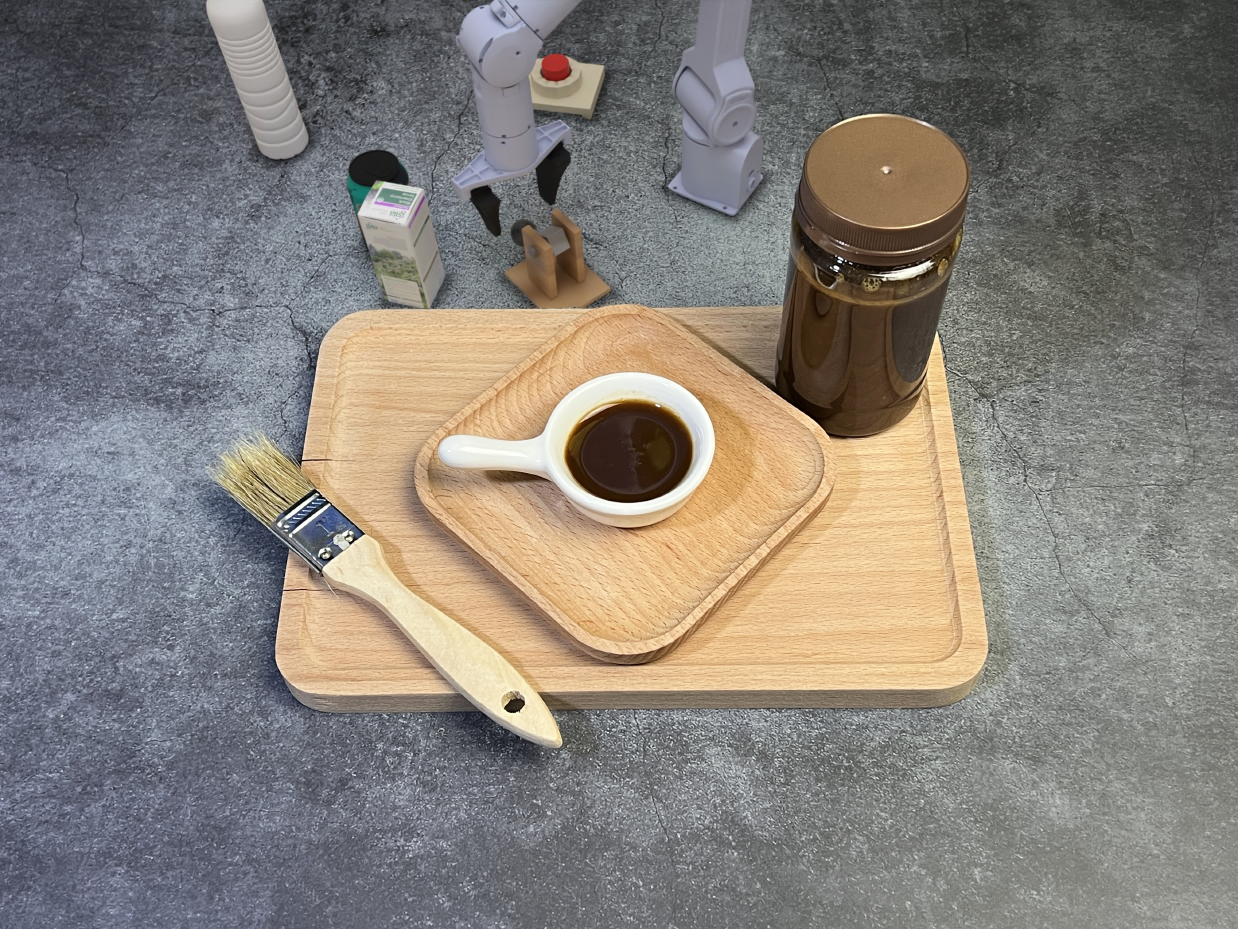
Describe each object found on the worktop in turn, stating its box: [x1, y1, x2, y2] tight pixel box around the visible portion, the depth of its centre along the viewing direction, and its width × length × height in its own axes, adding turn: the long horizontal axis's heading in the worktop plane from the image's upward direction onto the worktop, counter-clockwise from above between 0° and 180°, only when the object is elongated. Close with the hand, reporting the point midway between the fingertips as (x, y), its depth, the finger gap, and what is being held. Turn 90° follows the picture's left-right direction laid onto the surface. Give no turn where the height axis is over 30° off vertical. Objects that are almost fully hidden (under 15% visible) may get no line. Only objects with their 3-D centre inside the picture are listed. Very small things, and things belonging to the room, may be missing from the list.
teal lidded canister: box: [346, 149, 412, 254], centre depth 128 cm, size 7×7×12 cm
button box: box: [529, 55, 606, 120], centre depth 146 cm, size 11×9×4 cm
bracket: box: [504, 208, 612, 309], centre depth 125 cm, size 10×8×9 cm
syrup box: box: [357, 180, 446, 309], centre depth 123 cm, size 6×6×14 cm
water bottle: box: [205, 0, 309, 160], centre depth 134 cm, size 9×6×25 cm
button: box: [541, 53, 570, 82], centre depth 144 cm, size 4×4×2 cm
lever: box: [509, 218, 570, 256], centre depth 125 cm, size 10×3×3 cm, turn 38°
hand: (520, 215), depth 126 cm, fingers open, 7 cm apart
